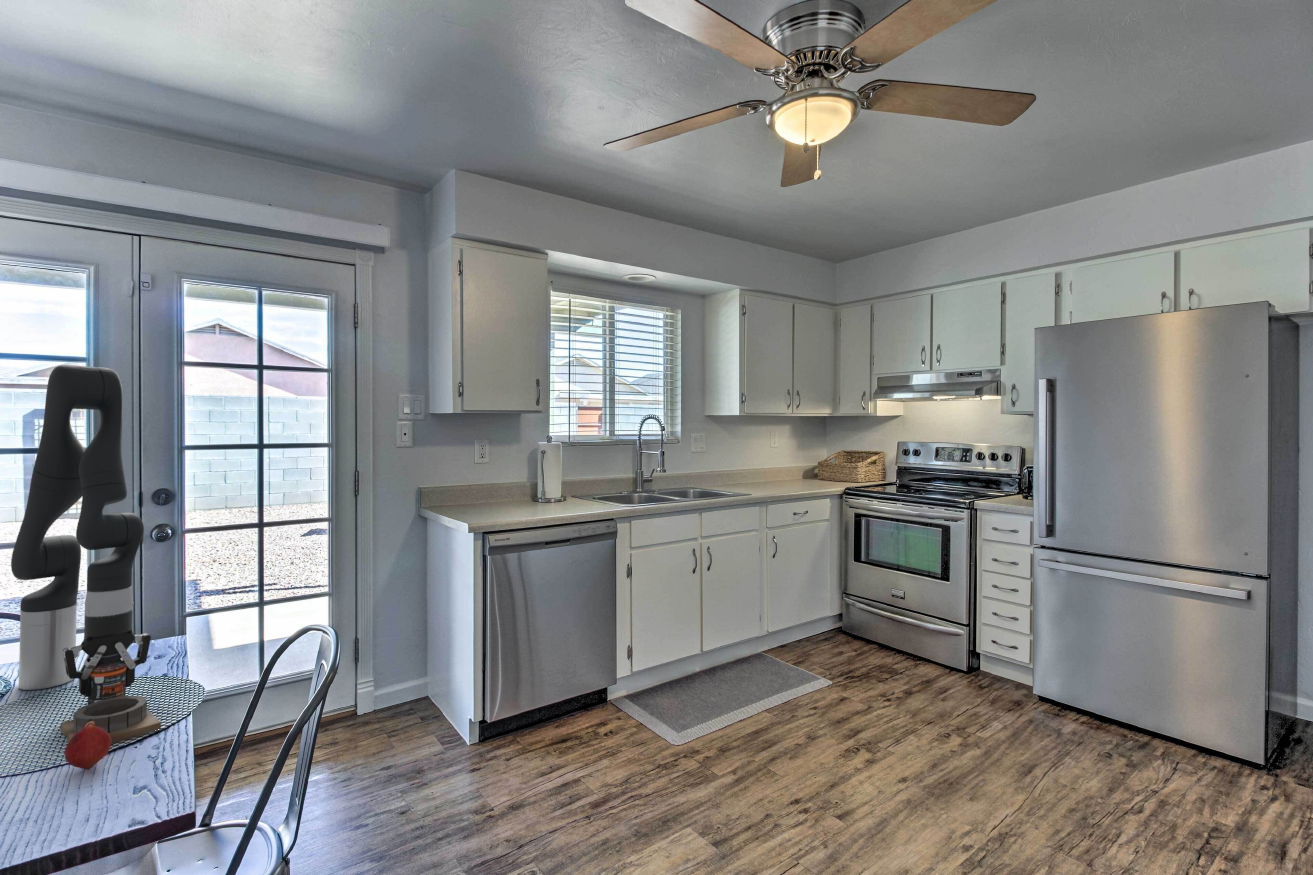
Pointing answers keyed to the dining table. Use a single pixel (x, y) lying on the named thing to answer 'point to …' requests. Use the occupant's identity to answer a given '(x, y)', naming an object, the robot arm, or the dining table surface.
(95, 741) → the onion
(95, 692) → the supplement bottle
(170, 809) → the dining table surface
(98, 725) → the ring holder
